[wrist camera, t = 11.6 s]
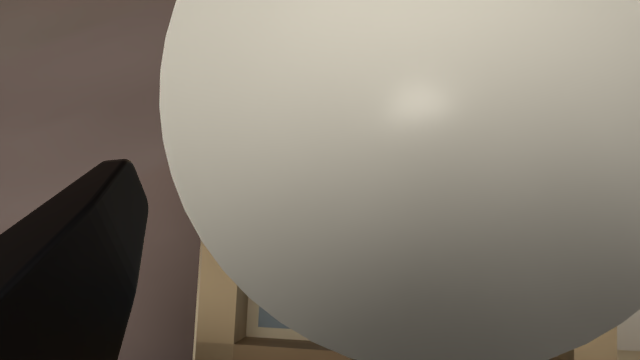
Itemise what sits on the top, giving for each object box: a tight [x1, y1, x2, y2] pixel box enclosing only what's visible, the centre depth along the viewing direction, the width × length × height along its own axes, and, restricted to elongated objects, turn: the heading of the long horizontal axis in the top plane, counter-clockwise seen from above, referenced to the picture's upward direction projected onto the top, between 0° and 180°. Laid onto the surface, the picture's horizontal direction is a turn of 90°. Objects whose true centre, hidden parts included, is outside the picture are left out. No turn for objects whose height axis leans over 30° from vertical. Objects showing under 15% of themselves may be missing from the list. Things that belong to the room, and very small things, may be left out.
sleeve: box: [159, 0, 640, 360], centre depth 11 cm, size 5×5×12 cm
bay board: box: [193, 241, 640, 360], centre depth 16 cm, size 14×21×2 cm, turn 87°
